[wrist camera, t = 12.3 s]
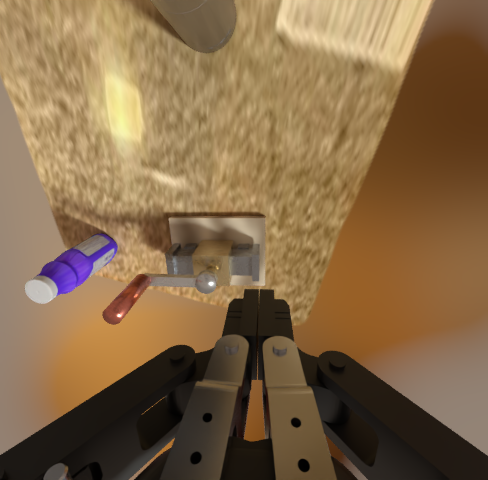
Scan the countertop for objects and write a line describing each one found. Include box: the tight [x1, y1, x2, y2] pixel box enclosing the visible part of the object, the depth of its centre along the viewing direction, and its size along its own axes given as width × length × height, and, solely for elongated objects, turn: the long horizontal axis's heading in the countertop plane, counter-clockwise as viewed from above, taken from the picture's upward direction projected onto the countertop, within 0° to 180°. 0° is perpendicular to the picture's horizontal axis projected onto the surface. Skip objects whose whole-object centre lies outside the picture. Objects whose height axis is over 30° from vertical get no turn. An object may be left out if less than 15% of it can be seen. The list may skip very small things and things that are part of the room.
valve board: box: [169, 216, 265, 286], centre depth 53 cm, size 18×14×2 cm
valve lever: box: [103, 270, 218, 325], centre depth 38 cm, size 3×13×10 cm, turn 90°
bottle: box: [25, 233, 118, 303], centre depth 47 cm, size 7×6×17 cm
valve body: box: [165, 240, 260, 286], centre depth 48 cm, size 16×6×10 cm, turn 91°
